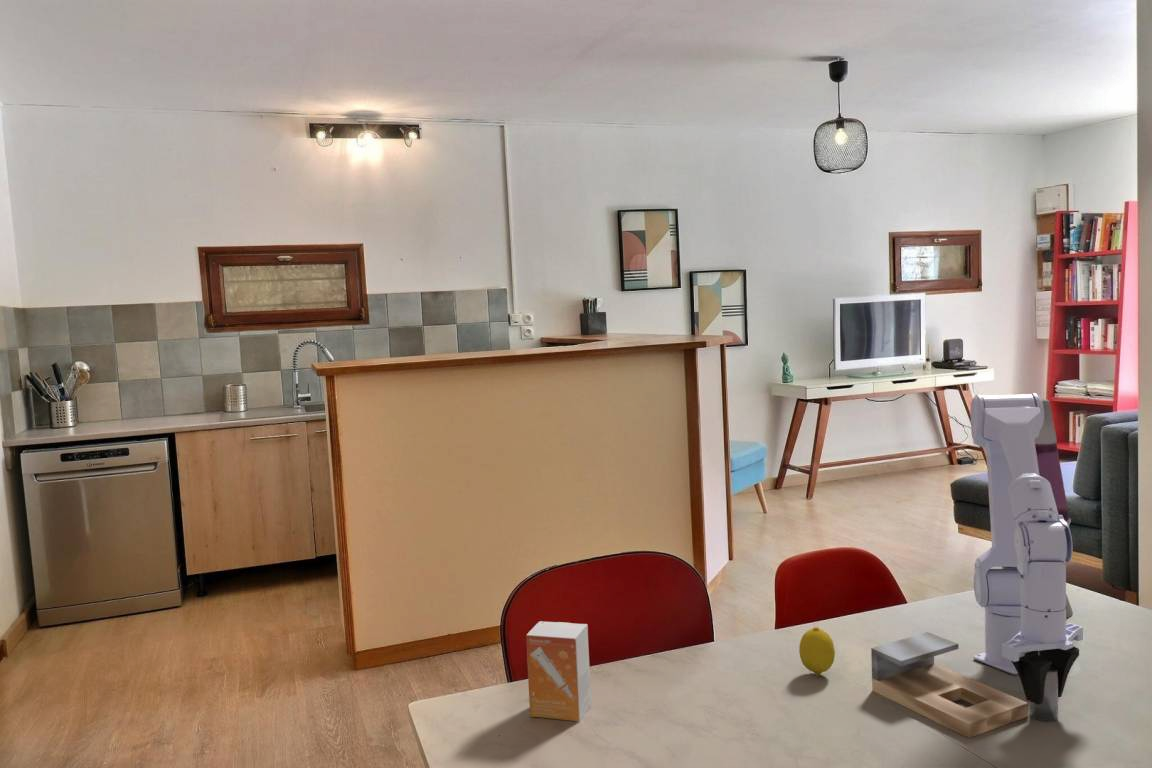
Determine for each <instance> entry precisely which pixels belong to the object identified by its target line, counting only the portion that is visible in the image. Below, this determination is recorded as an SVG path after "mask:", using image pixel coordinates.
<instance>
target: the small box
mask: <svg viewBox="0 0 1152 768" xmlns="http://www.w3.org/2000/svg"><path fill="white" fill-rule="evenodd" d="M525 637H526V657H527V658H526V662H527V679H528V680H527V682H528V699H529V701H528V702H529V717H532V718H543V719H544V718H545V719H556V720H563V721H564V720H565V721H571V722H572V721H573V722H577V723H579V722H581V721H582V718H583V717H584V716H585V714H586V712H587V711H588V709H589V708H590V707H591V704H592V693H591V692H592V691H591V672H590V671H591V670H590V653H589V652H590V650H589V627H588V624H587V623H573V622H572V623H571V622H561V621H556V622H555V621H542V620H541V621H538V622H537V623H536V624H535V625H534V626H533V627H532V628H531V630H529V631H528V633H527V634H525Z"/></svg>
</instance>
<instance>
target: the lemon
mask: <svg viewBox="0 0 1152 768" xmlns="http://www.w3.org/2000/svg"><path fill="white" fill-rule="evenodd" d="M798 649H799V652H798V653H799V657H800V661H801V663H802V665H803V666H804V667H805V669H807V670H809V672H811V673H814V674H815V676H820V675H822V673H825V672H827V671H828V670H829V669H830V668H831V667H832V665H833V664H834V661H835V656H836V655H835V654H836V653H835V652H836V651H835V646H834V642H833V638H832V637H831V636H830V634H829V633H828V632H827V631H825V630H823V629H821V628H819V627H817V626H814V627H813V628H811V629H808V630H806V631H805V632H804V634H803V635H802V637H801V639H800V641H799V648H798Z"/></svg>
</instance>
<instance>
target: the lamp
mask: <svg viewBox="0 0 1152 768" xmlns="http://www.w3.org/2000/svg"><path fill="white" fill-rule="evenodd" d="M1041 400H1042V403H1043V408H1044V422H1043V426H1042V428H1041V429H1040V433H1039V436H1038V437H1037V438H1035V439H1034V441H1035V448H1036V455H1037V461H1038V468H1039V475H1040V476H1041V477H1043V478H1045V479H1047V480H1048V481H1049V482H1050V484H1051V488H1052V492H1053V496H1054V499H1055V503H1056V507H1057V511H1058V514H1059V515H1062V516H1063V518H1064V520H1065V521H1066V522H1067V524H1068V526H1069V527H1070V524H1071V522H1072V521H1071V520H1072V519H1071V518H1070V513H1069V507H1068V501H1067V498H1066V497H1067V496H1066V492H1065V491H1066V490H1065V485H1064V480H1063V474H1062V468H1061V464H1060V457H1059V456H1060V455H1059V450H1058V440H1057V439H1058V438H1057V435H1056V430H1055V423H1054V418H1053V414H1052V408H1051V403H1050V400H1049V399H1045V398H1041ZM1071 606H1072V605H1071V603H1070V600H1069V598H1068V595H1067V593H1066V619H1067V617H1068V618H1069V617H1071V616H1072V615H1073V608H1072V607H1071Z"/></svg>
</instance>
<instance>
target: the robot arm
mask: <svg viewBox="0 0 1152 768" xmlns="http://www.w3.org/2000/svg"><path fill="white" fill-rule="evenodd" d="M1041 399H1042V398H1041V397H1040V396H1039V395H1038V394H1037V393H1035V392H1031V393H1025V394H1024V393H1020V394H991V395H990V394H987V395H983V394H982V395H981V394H976V395H974V397H973V398H972V400H971V403H970V411H969V412H970V430H971V438H972V443H973V444H974V445H976V446H977V447H981V448H983V450H984V455H985V458H986V469H987V486H988V502H989V503H988V504H989V520H990V535H991V536H990V537H991V538H990V539H991V547H990V548H989V549H988V550H986V551H985V552H983V553H982V554H980V555H979V556H978V557H976V559H975V562H974V573H973V591H974V592H973V593H974V598H975V601H976V603H977V604H978V606H980V607H981V608H983V609H984V631H985V632H984V635H985V637H984V638H985V643H984V644H985V645H984V646H985V652H982V653H978V654H977V653H976V654H974V655H973V659H974V660H976V661H978V662H981V663H984V664H986V665H988V666H990V667H991V666H992V667H994V668H996V669H999V670H1001V671H1004V672H1006V673H1009V674H1012V675H1018V677H1019V680H1020V682H1021V685H1022V689H1023V692H1024V695H1025V699H1026V700H1027V701H1028V702H1030V701H1031V702H1033V703H1035V704H1038V705H1039V704H1042V702H1043V698H1044V686H1045V679H1046V675H1047V672H1048V669H1049V667H1050V665H1052V666H1054V667H1056V668H1057V669H1058V699H1059V698H1062V695H1063V692H1064V689H1065V686H1066V682H1067V680H1068V677H1069V673H1070V671H1071V669H1072V667H1073V665H1074V663H1075V661H1076V660H1077V659H1078V657H1079V656H1080V649H1079V648H1078V647H1076V646H1074V643H1073V641H1075V642H1082V641H1084V627H1083V626H1080V625H1077V624H1074V623H1067V618H1066V594H1067V564H1066V563H1068V564H1069V563H1070V562H1071V561H1072V558H1073V538H1072V537H1073V536H1072V533H1071V529H1070V525H1069V526H1068V524H1067V522H1066V521H1065V520H1064V518H1063V516H1062V515H1059V514H1058V511H1057V507H1056V503H1055V499H1054V496H1053V492H1052V488H1051V484H1050V482H1049V481H1048V480H1047V479H1045V478H1043V477H1041V476H1040V475H1039V468H1038V461H1037V455H1036V448H1035V441H1034V439H1035V438H1037V437H1038V436H1039V433H1040V429H1041V428H1042V426H1043V422H1044V408H1043V403H1042V400H1041ZM1008 567H1009V568H1008Z"/></svg>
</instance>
